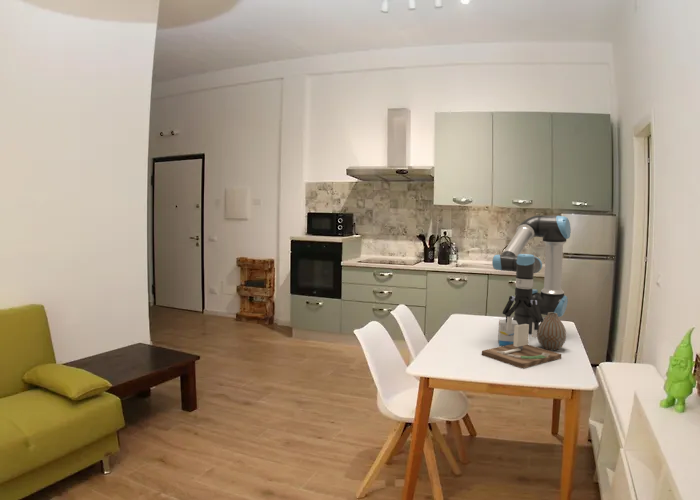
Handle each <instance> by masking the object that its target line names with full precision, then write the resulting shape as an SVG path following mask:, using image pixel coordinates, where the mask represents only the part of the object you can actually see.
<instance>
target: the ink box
mask: <svg viewBox="0 0 700 500" xmlns="http://www.w3.org/2000/svg"><path fill="white" fill-rule="evenodd" d="M515 325H518V323H517V321H516V320H513V319H512V328H511V330H508V331H507V330H506V329H507V323H506V318H505V319H501V318H500V319H498V331H497V332H498V333H497V343H498V345H499V347H501V346H506V345H511V344H514V326H515Z"/></svg>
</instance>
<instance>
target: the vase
mask: <svg viewBox="0 0 700 500" xmlns="http://www.w3.org/2000/svg"><path fill="white" fill-rule="evenodd" d="M566 339H567V332H566V328H565V326H564V323H563V322H562V321H561V319H560V317H558V314H557V313H553V312H549V313H548V314H547V315H545V317H544V318H543V322H539V329H538V330H537V341H538V343H539V345H540V346H541V347H542V349H545V350H548V351H558V350H559V349H561V348H562V347H563V346H564V344H565V342H566Z"/></svg>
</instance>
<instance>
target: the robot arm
mask: <svg viewBox="0 0 700 500" xmlns="http://www.w3.org/2000/svg"><path fill="white" fill-rule="evenodd" d="M515 230H516V231H515V234H514V236H513V237H511V240H510V241H509V243H508V245H507V246H506V248H505V249H504V251H503V252H502V253H501V254H495V255H494V256H493V258H492V263H491V264H492V267H493V269H494V270H498V271H503V272H507V271H508V272H513V273H514V272H515V288H514V289H515V290H514V295H509V296H508V301H507V302H506V305H505V306H504V308H503V311H502V313H501V314H503V315H504V316H505V320H506V323H507V329H506V330H507V331H508V330H511V328H512V320H516V321H517V323H518V325H521V324H529V334H531V338H535V337H537V330H538V329H539V324H540V323H541V322H543V319H544V318H543V316H547V314H548V313H549V312H553V313H557V314H558V317H559V318H561V317H563V315H565V313H566V310H567V307H568V300H569V297H568V296H567V295H565V291H564V290H563V289H562V283H563V282H562V281H563V256H564V255H563V254H564V245H565V243H567V240H568V239H570V237H571V230H572V229H571V223H570V220H569V218H568V217H567V216H565V215H564V216H563V215H540V214H539V215H538V214H537V215H533V216H531V217H527V218H526V219H524V220H523V221H522V222H520V224H519V225H518V226H517V227H516V229H515ZM533 238H542V242H543V243H544V244H545V251H544V252H545V254H544V281H543V282H544V283H543V288H542V289H541V290H540V292H539V290H538V289H535V288H533V287H534V274H536V273H539V272H540V271H541V270H542V268H543V262H542V260H541V259H540V258H539V257H536V256H535V255H534V254H531V253H522V252H523V251H524V249H525V247H526V246H527V245H528V243H529V241H531V240H532V239H533ZM513 313H514V316H512V315H513Z"/></svg>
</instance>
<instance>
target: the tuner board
mask: <svg viewBox="0 0 700 500" xmlns="http://www.w3.org/2000/svg"><path fill="white" fill-rule="evenodd" d="M513 345H514V344H511V345H506V346H498V347H493V348H489V349H484V350H481V356H483V357H486V358H490V359H494V361H495V360H496V361H498V362H502V363H504V364H508V365H510V366H514V367H517V368H520V369H522V368H523V369H527V368H531V367H534V366H537V365H541V364H545V363H549V362H552V361H556V360H561V359H562V354H561V353H559V352H555V351H553V350H548V349H544V348H541V347H538V346H534V345H530V344H528V345H524V346H523V350H520V351H516V352H511V353H507V354H504V353H502V352H503V351H508V350H512V349H516V348H518V347H515V346H513Z"/></svg>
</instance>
